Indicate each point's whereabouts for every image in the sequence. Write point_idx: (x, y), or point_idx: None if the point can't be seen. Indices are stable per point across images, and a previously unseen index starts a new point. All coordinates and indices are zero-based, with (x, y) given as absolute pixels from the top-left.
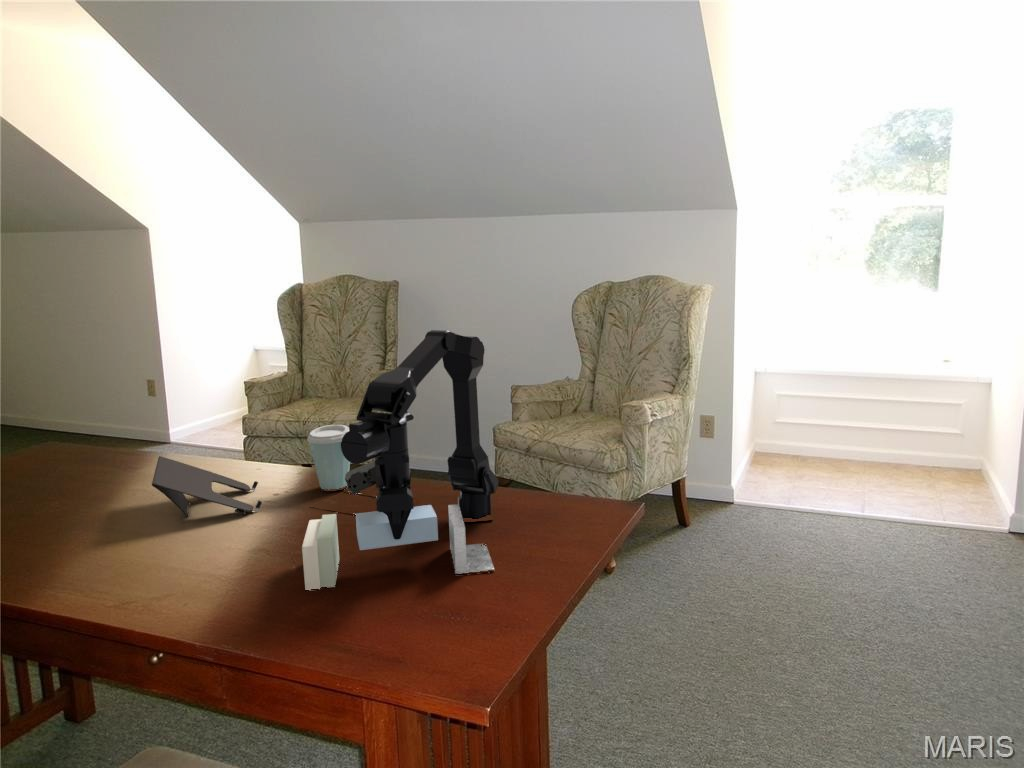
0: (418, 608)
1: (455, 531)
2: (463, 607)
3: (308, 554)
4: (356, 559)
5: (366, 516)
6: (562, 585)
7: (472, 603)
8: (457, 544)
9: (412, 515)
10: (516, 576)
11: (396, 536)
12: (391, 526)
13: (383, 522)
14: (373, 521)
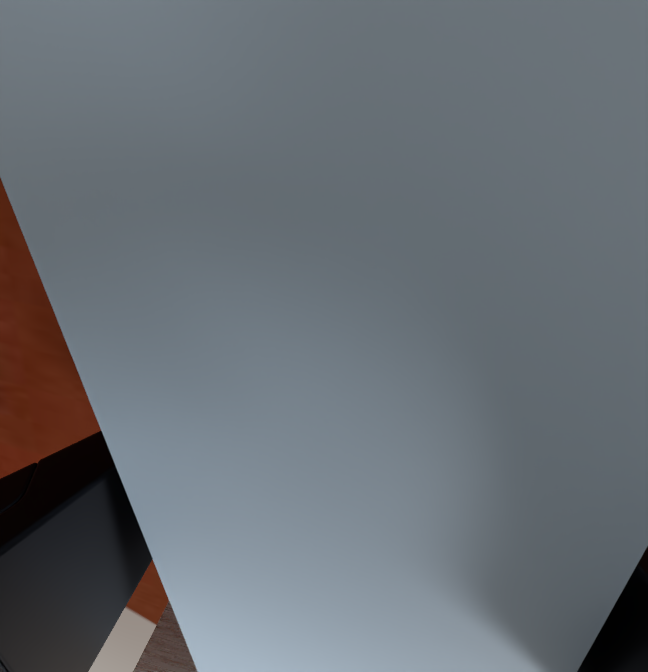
0: (8, 307)
1: (142, 657)
2: (32, 421)
3: None
4: None
5: (489, 194)
6: (151, 606)
7: (57, 445)
8: None
9: (283, 658)
10: None
11: None
12: (67, 453)
13: (119, 416)
14: (167, 299)
